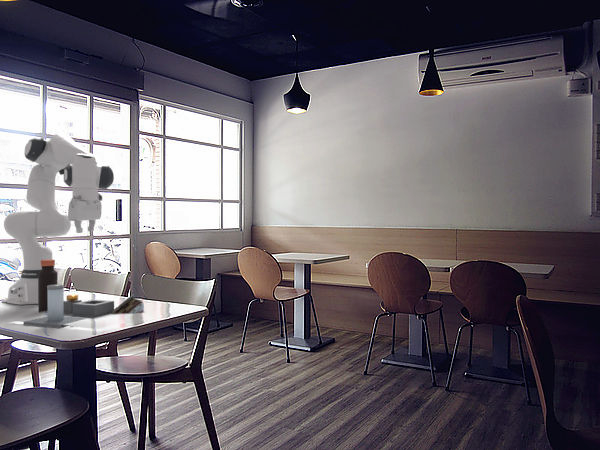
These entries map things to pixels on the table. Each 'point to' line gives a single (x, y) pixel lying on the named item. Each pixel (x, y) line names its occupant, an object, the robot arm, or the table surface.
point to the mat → (54, 324)
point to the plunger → (72, 297)
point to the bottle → (46, 283)
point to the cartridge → (55, 302)
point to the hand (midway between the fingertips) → (85, 232)
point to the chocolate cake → (129, 306)
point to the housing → (88, 308)
